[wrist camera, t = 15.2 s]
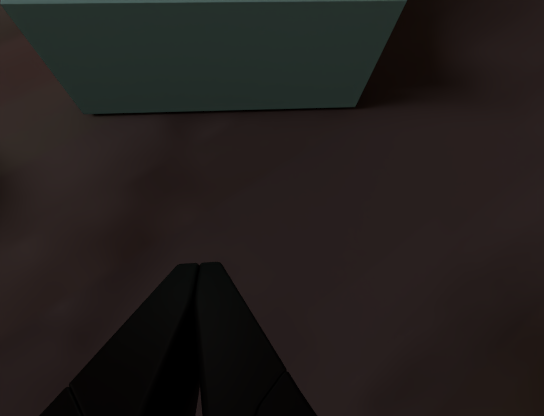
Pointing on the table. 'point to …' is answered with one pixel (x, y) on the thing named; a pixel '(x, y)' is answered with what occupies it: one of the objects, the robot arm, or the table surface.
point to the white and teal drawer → (208, 51)
